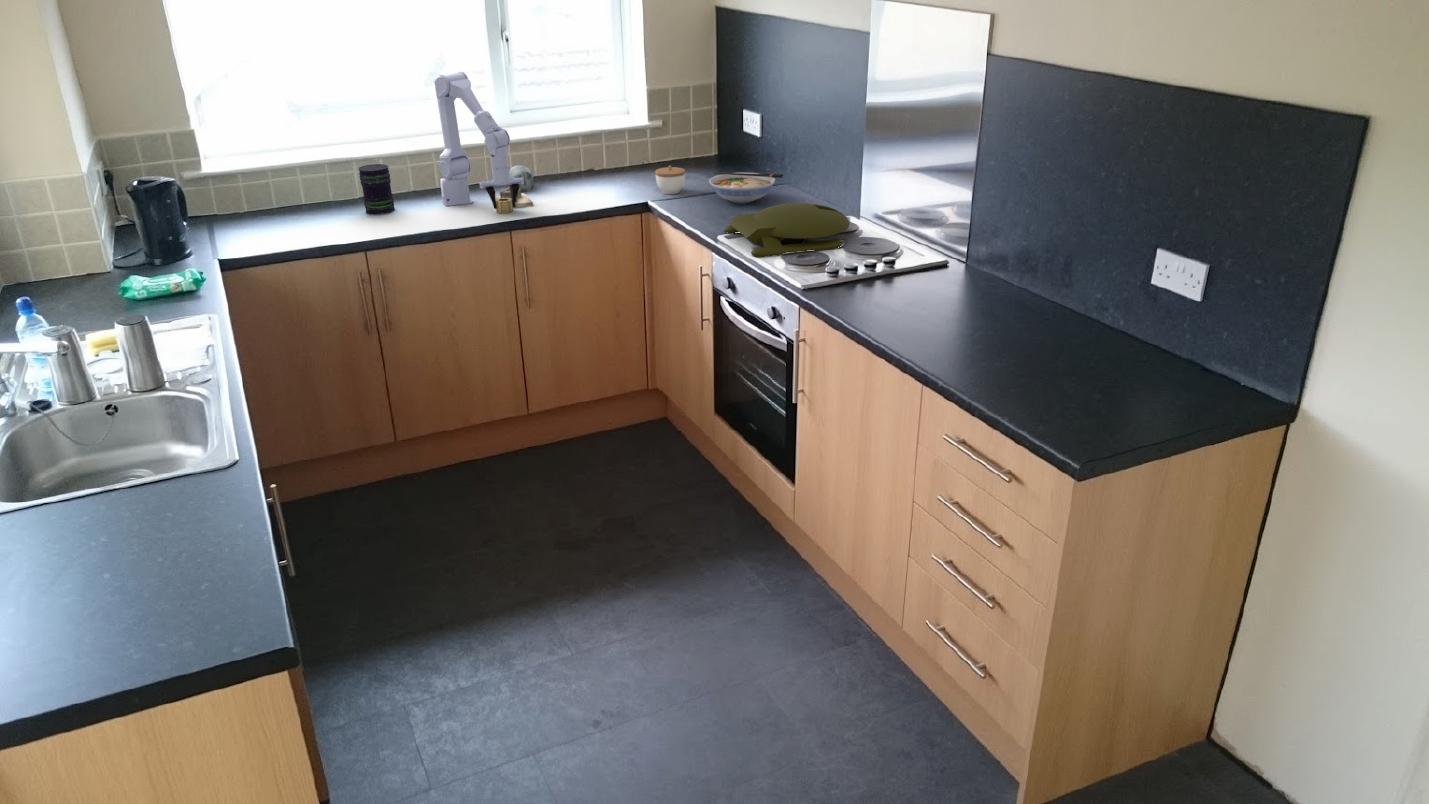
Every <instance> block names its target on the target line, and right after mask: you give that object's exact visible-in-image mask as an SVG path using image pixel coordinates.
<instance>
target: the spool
mask: <svg viewBox="0 0 1429 804" xmlns="http://www.w3.org/2000/svg"><path fill="white" fill-rule="evenodd" d="M509 174H510V178H523V179H524V184H522V185H521V184H519V187H520V188H519V189H521V192H528V191H530V190H531V188H532V187H533V183H534V175H533V172H532V170H531V169H530V168H528V167H527V166H526V165H525V166H524V165H521V164H518V165H517V164H516V165H514V166H512V167H511V168H509Z"/></svg>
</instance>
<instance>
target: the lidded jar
mask: <svg viewBox="0 0 1429 804" xmlns="http://www.w3.org/2000/svg"><path fill="white" fill-rule="evenodd" d="M654 174H655V183H656V185H657V187H658V189H659V190H660V191H661V192H662V194H665V195H674V194H675V195H676V194H679V193H680V191H682V189H683V188H684V185H685V183H686V182H685V181H686V170H685V168H682V167H678V166H677V167H675V166H674V167H672V165H668V167H660V168H658V169H656V170H655V171H654Z"/></svg>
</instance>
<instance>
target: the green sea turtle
mask: <svg viewBox="0 0 1429 804" xmlns="http://www.w3.org/2000/svg"><path fill="white" fill-rule="evenodd" d="M849 227H850V221H849V218H848V217H847V216H846V215H845V214H843V213H842V212H840V211H839V210H837V209H835V208H832V207H830V206H826V205H821V204H816V203H809V202H791V203H782V204H777V205H772V206H769V207H765V208H763V209H760V210H759V211H757V212H751V213H750V212H749V213H742V214H741V213H740V214H738V215H737V216H735V217H734V218H733V219H732V220H730V221H729V222H728V225H727V226H725V228H724V232H725V233H726V232H728V233H735V232H740V233H739V234H741V235H742V236H743V237H744V238H746V239H748V240H749V241H751V242H752V243H754V244H756V245H759V246H761V245H762V247H756V248H754V249H752V250H751V251H750V254H751V255H752V257H755V258H766V257H765V256H769V257H773V256H772V255H777V256H780V255H779V254H783V253H786V252H797V251H807V250H815V251H814V252H820V251H830V250H836V249H835V248H838V247H840V246H841V245H842V244H843V243H844V244H845V242H844V241H843V240H842V239H838V238H836V239H835V238H834V239H825V240H815V241H808V242H797V243H791V244H790V243H789V244H782V243H781V242H782V241H783V240H784V239H814V238H815V239H816V238H825V237H830V236H833V235H838V234H840V233H843V232H845V231H847V230H848V228H849ZM728 233H727V234H728Z"/></svg>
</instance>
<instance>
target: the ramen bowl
mask: <svg viewBox="0 0 1429 804" xmlns="http://www.w3.org/2000/svg"><path fill="white" fill-rule="evenodd" d="M713 174H716V175H715V176H713V177H711V178H710V179H709V180H708V182H709V184H710V186H711V188H712V189H713V191H714V192H715V193H716V194H717V195H718V196H719V197H720V198H722V199H725V200H727V201H730V202H732V203H734V204H740V205H741V204H743V205H744V204H750V203H752V202H754V201H757V200H759V199H762V198H763V197H764V196H766V195H767V194H768V193H769V192H771V191H770V190H771V189H772V188H773V186H774V184H775V181H776V178H781V179H782V178H783V177H784V174H778V173H777V174H776V173H775V174H774V173H756V172H713Z"/></svg>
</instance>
